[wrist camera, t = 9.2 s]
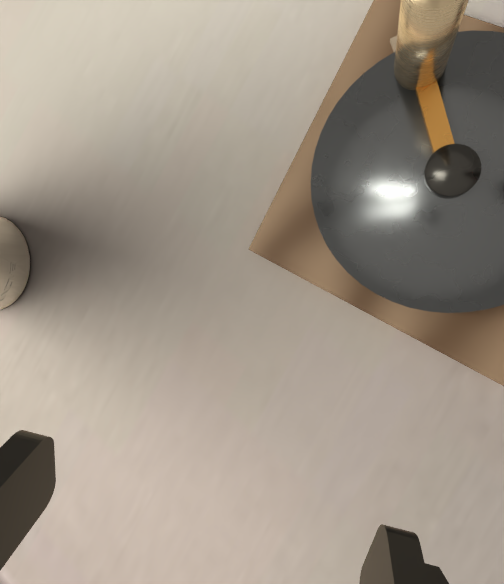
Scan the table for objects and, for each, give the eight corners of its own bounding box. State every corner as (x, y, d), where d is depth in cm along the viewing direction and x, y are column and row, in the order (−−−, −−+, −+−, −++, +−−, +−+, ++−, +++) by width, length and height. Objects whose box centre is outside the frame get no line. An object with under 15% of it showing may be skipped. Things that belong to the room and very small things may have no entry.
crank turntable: (272, 234, 30) (225, 212, 21) (396, 10, 28) (409, -135, 18) (494, 360, 26) (563, 405, 17) (665, 114, 24) (866, -1, 14)
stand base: (253, 250, 33) (247, 249, 31) (379, 1, 30) (380, -16, 28) (503, 384, 28) (512, 390, 26) (684, 104, 25) (708, 91, 23)
